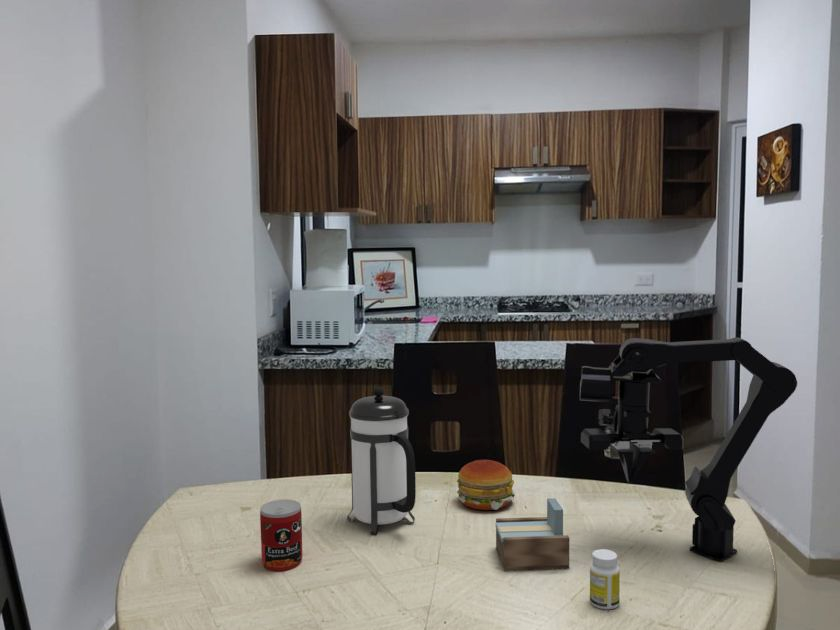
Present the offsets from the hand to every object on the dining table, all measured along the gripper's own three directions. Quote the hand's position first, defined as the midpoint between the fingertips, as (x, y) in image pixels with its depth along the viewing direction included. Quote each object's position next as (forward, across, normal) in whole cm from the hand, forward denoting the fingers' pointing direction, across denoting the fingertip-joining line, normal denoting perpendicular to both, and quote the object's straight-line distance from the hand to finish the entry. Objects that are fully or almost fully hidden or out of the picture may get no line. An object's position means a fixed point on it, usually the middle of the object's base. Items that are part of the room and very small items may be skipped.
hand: (629, 481), depth 135 cm
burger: (+14, +24, -26) cm, 38 cm away
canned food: (+15, +67, 0) cm, 69 cm away
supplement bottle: (+14, +12, +21) cm, 28 cm away
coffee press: (+15, +47, -16) cm, 52 cm away
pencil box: (+14, +20, +4) cm, 24 cm away
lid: (+9, +21, +3) cm, 23 cm away
